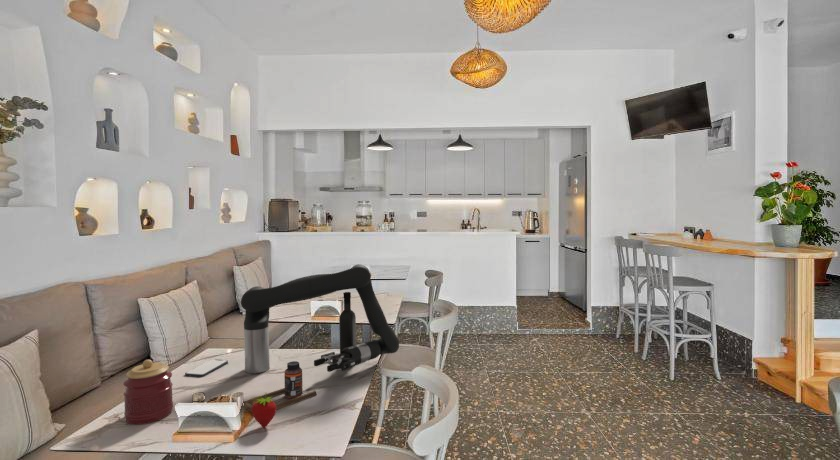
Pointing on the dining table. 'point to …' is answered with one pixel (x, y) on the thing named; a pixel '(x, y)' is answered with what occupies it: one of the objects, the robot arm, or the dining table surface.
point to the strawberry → (264, 411)
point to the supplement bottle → (293, 380)
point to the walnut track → (248, 403)
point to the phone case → (206, 368)
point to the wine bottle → (347, 324)
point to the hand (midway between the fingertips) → (320, 366)
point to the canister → (148, 393)
